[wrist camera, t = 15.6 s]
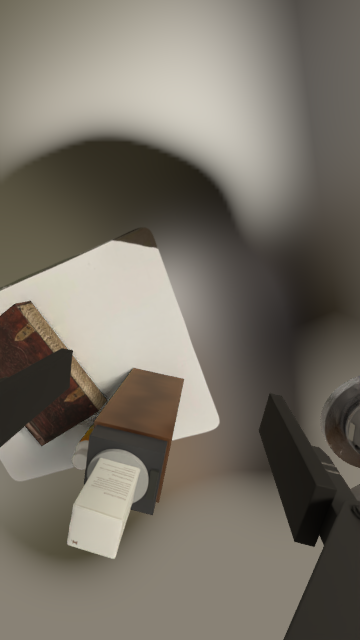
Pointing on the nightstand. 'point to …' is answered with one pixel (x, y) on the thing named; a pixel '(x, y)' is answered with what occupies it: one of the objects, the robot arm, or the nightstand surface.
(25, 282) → the nightstand surface
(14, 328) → the hardback book
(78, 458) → the supplement bottle
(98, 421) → the riser
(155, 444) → the scale
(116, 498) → the product box
